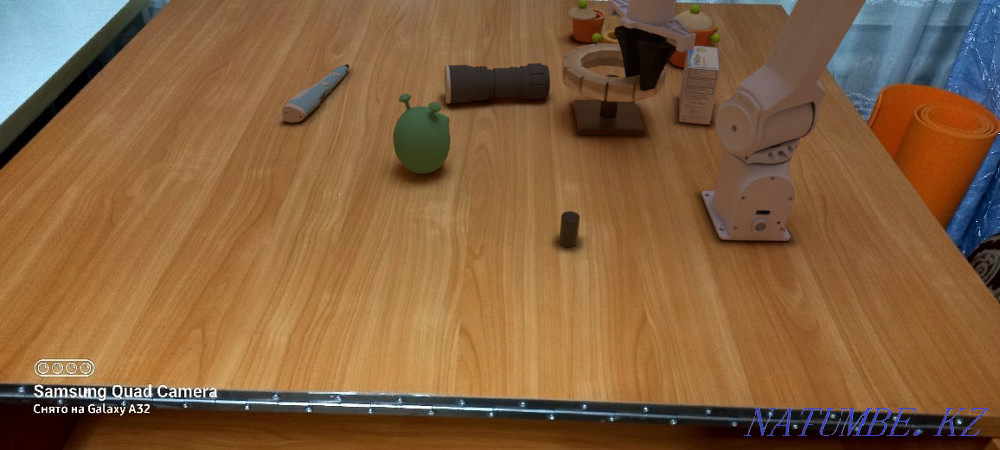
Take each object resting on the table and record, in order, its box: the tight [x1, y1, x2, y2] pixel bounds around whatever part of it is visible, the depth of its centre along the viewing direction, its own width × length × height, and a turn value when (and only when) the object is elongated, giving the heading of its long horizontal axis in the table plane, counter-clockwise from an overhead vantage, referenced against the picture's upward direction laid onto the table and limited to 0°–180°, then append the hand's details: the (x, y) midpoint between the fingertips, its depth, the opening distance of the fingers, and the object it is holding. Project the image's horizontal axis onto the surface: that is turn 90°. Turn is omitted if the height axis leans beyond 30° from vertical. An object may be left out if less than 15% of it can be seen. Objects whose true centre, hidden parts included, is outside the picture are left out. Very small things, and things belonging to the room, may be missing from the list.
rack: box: [572, 74, 646, 137], centre depth 104 cm, size 9×9×6 cm
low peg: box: [558, 210, 581, 248], centre depth 81 cm, size 2×2×4 cm
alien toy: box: [392, 93, 451, 175], centre depth 91 cm, size 7×8×10 cm
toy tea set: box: [566, 0, 722, 69], centre depth 124 cm, size 26×16×10 cm, turn 84°
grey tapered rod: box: [281, 63, 350, 123], centre depth 109 cm, size 19×3×3 cm, turn 166°
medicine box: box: [678, 46, 721, 126], centre depth 106 cm, size 8×4×9 cm, turn 168°
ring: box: [561, 42, 668, 102], centre depth 101 cm, size 14×14×2 cm
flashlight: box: [443, 62, 551, 104], centre depth 109 cm, size 15×5×5 cm, turn 99°
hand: (640, 84), depth 97 cm, fingers closed on ring, 2 cm apart
